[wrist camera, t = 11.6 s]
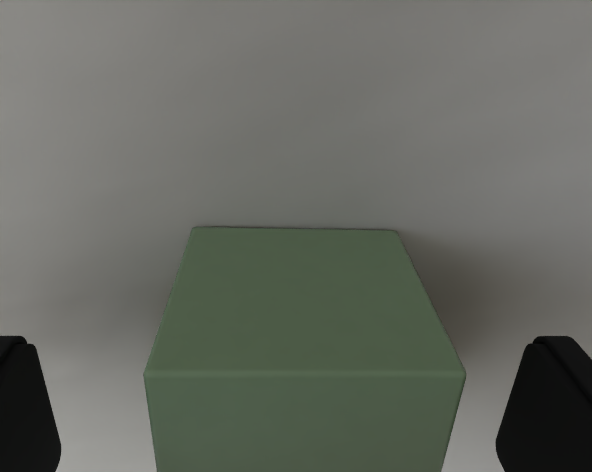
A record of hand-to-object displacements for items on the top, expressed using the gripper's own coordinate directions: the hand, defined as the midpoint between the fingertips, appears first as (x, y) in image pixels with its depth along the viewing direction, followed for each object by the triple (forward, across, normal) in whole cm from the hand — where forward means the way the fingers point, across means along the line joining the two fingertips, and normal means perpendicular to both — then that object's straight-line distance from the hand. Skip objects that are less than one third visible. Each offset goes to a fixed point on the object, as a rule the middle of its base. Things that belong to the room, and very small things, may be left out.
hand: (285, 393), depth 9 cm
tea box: (+2, 0, 0) cm, 2 cm away
